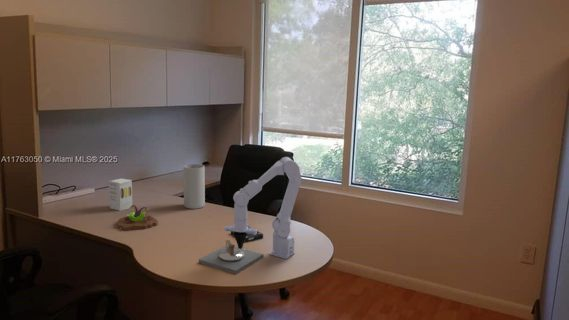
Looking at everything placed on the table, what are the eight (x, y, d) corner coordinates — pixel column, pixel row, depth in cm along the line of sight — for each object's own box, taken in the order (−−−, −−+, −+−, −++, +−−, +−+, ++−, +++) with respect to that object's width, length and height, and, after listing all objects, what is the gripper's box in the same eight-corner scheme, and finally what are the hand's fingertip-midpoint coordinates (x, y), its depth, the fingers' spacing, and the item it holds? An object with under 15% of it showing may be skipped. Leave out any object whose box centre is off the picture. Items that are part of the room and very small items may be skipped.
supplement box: (120, 211, 255) (118, 183, 251) (109, 208, 259) (108, 180, 256) (133, 207, 263) (132, 179, 260) (122, 204, 267) (121, 177, 264)
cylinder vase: (207, 204, 273) (207, 164, 269) (200, 209, 261) (200, 168, 257) (188, 202, 275) (188, 163, 271) (180, 208, 263) (179, 167, 259)
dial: (247, 259, 188) (247, 248, 187) (221, 262, 184) (221, 251, 183) (239, 247, 201) (239, 237, 200) (215, 250, 197) (215, 239, 196)
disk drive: (263, 239, 219) (247, 230, 230) (263, 234, 218) (247, 225, 229) (246, 243, 212) (230, 234, 224) (246, 238, 212) (230, 229, 223)
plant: (112, 222, 237) (112, 202, 234) (149, 216, 247) (148, 197, 245) (122, 233, 220) (121, 212, 218) (160, 227, 231) (160, 206, 229)
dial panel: (263, 257, 195) (263, 254, 195) (236, 274, 178) (236, 270, 178) (227, 247, 205) (227, 244, 205) (198, 262, 188) (198, 258, 188)
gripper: (259, 217, 194) (259, 246, 196) (228, 214, 198) (228, 242, 200) (253, 222, 187) (253, 252, 190) (222, 218, 191) (222, 248, 193)
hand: (240, 247), depth 194 cm, fingers closed
